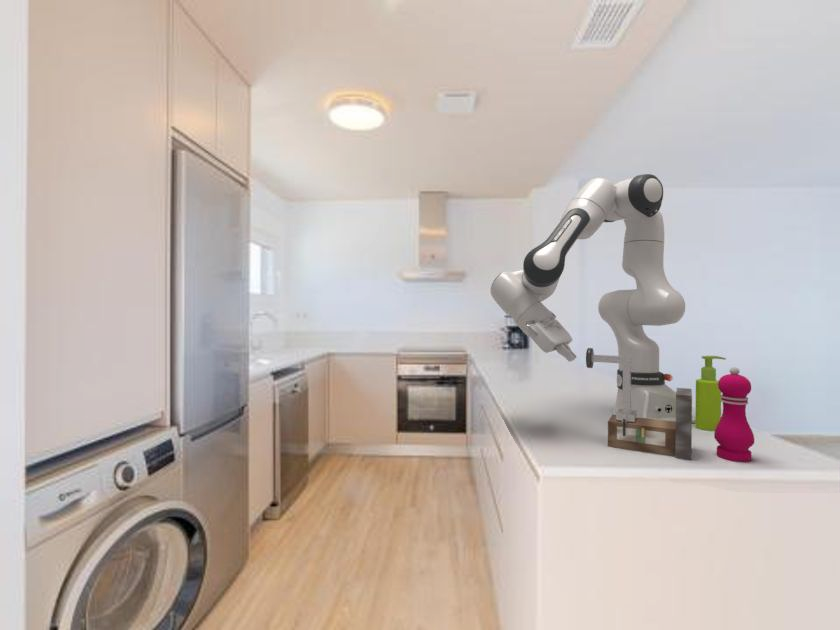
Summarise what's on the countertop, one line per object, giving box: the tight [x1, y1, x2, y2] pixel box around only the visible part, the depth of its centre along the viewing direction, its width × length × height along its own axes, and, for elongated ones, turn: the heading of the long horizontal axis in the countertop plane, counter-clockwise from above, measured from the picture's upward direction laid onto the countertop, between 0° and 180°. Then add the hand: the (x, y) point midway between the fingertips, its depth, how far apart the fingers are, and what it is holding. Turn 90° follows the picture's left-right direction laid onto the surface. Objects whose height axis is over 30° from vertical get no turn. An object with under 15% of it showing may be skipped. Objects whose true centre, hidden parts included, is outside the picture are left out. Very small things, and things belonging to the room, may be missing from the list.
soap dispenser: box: [694, 355, 727, 432], centre depth 121 cm, size 6×7×20 cm
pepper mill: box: [714, 366, 755, 463], centre depth 97 cm, size 7×7×20 cm
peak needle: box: [641, 428, 645, 437], centre depth 100 cm, size 1×1×2 cm, turn 59°
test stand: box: [607, 387, 693, 461], centre depth 103 cm, size 17×10×14 cm, turn 59°
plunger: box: [585, 347, 637, 436], centre depth 107 cm, size 11×8×20 cm
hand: (573, 359), depth 112 cm, fingers closed
